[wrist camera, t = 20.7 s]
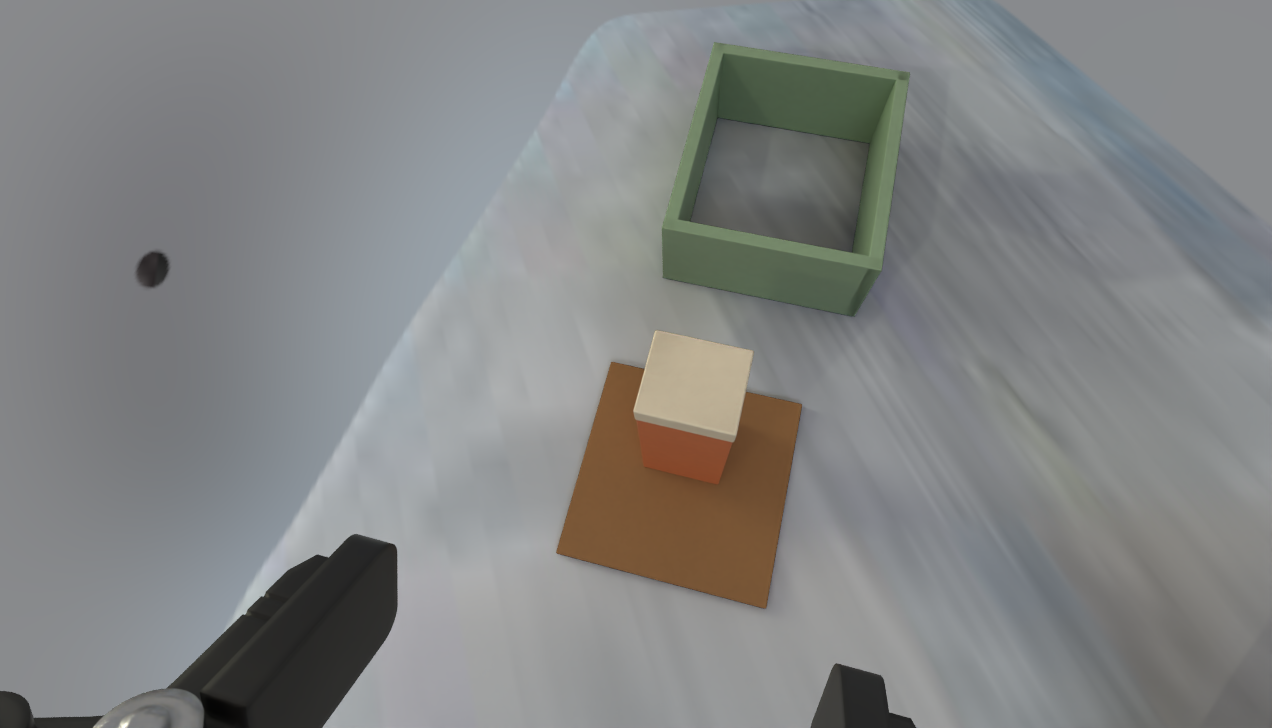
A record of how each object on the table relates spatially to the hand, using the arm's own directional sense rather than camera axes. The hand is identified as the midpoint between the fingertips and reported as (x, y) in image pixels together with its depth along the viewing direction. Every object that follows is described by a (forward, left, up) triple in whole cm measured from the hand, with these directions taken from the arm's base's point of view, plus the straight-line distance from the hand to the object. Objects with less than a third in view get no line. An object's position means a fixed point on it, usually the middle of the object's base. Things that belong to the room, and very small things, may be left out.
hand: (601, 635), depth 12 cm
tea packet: (0, -11, -26) cm, 28 cm away
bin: (-2, -29, -27) cm, 39 cm away
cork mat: (0, -9, -27) cm, 28 cm away
